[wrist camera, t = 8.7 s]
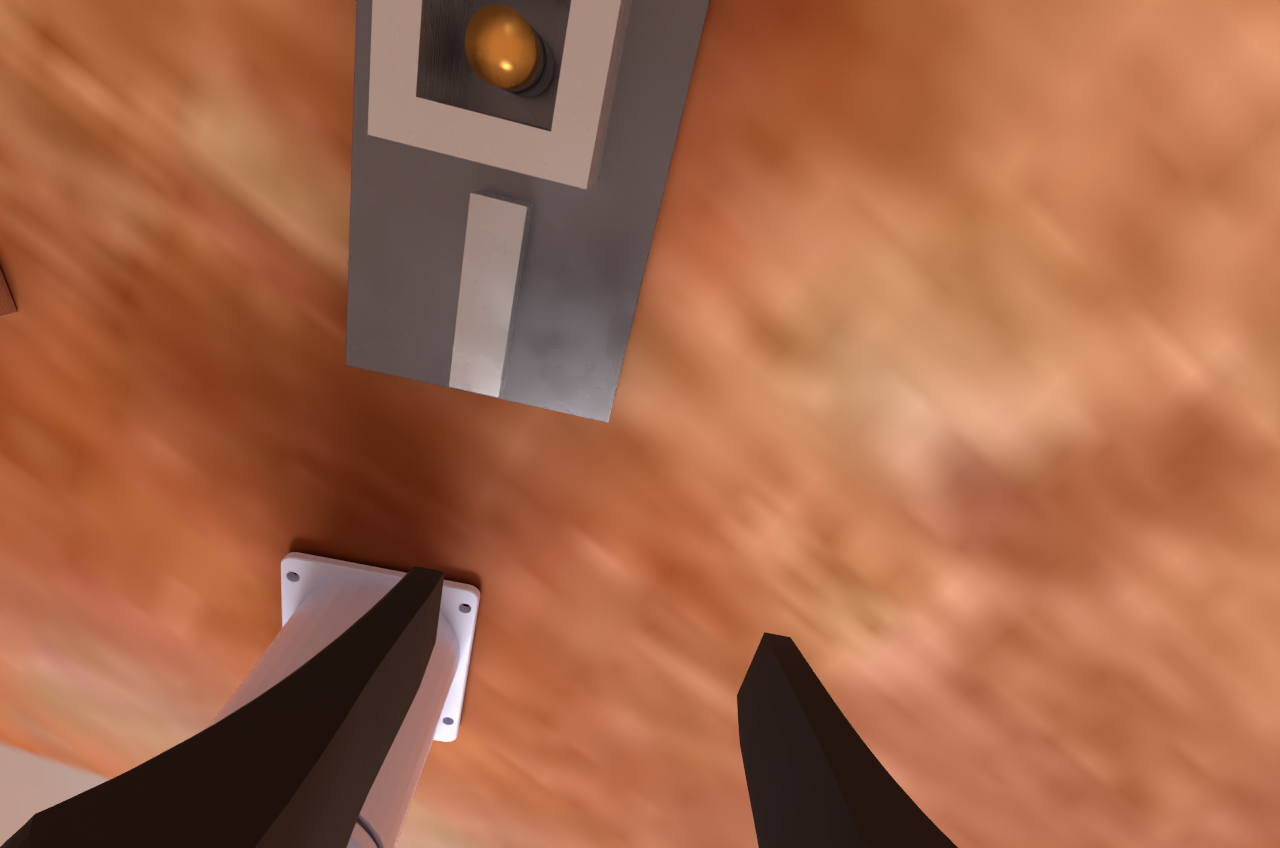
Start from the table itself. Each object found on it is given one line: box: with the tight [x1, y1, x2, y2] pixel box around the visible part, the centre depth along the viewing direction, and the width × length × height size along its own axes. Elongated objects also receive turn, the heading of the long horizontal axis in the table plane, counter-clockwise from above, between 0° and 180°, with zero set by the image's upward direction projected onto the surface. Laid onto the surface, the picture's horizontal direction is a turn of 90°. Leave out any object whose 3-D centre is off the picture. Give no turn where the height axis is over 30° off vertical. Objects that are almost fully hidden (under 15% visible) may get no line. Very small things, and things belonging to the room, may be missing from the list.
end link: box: [368, 0, 632, 189], centre depth 14 cm, size 5×5×4 cm
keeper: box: [346, 0, 709, 422], centre depth 17 cm, size 14×9×4 cm, turn 167°
